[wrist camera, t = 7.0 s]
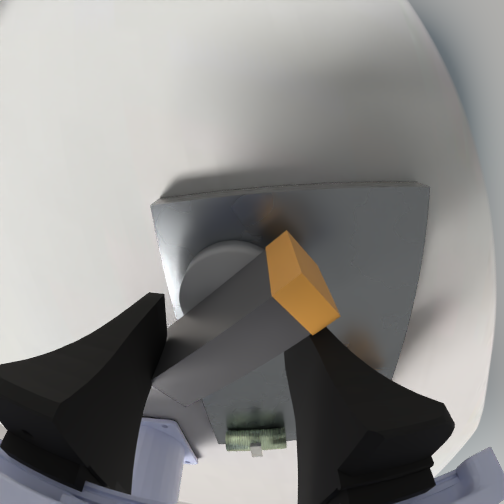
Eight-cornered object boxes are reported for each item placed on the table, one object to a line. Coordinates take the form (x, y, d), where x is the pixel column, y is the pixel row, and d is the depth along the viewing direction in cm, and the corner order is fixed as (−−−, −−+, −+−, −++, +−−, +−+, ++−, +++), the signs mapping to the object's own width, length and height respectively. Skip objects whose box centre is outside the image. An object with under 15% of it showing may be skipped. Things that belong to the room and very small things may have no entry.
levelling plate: (219, 431, 19) (217, 463, 17) (158, 198, 12) (134, 218, 9) (369, 415, 19) (378, 444, 16) (416, 181, 12) (453, 197, 9)
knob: (218, 350, 14) (210, 422, 10) (151, 295, 13) (118, 362, 9) (328, 272, 12) (360, 339, 8) (262, 197, 11) (269, 238, 7)
